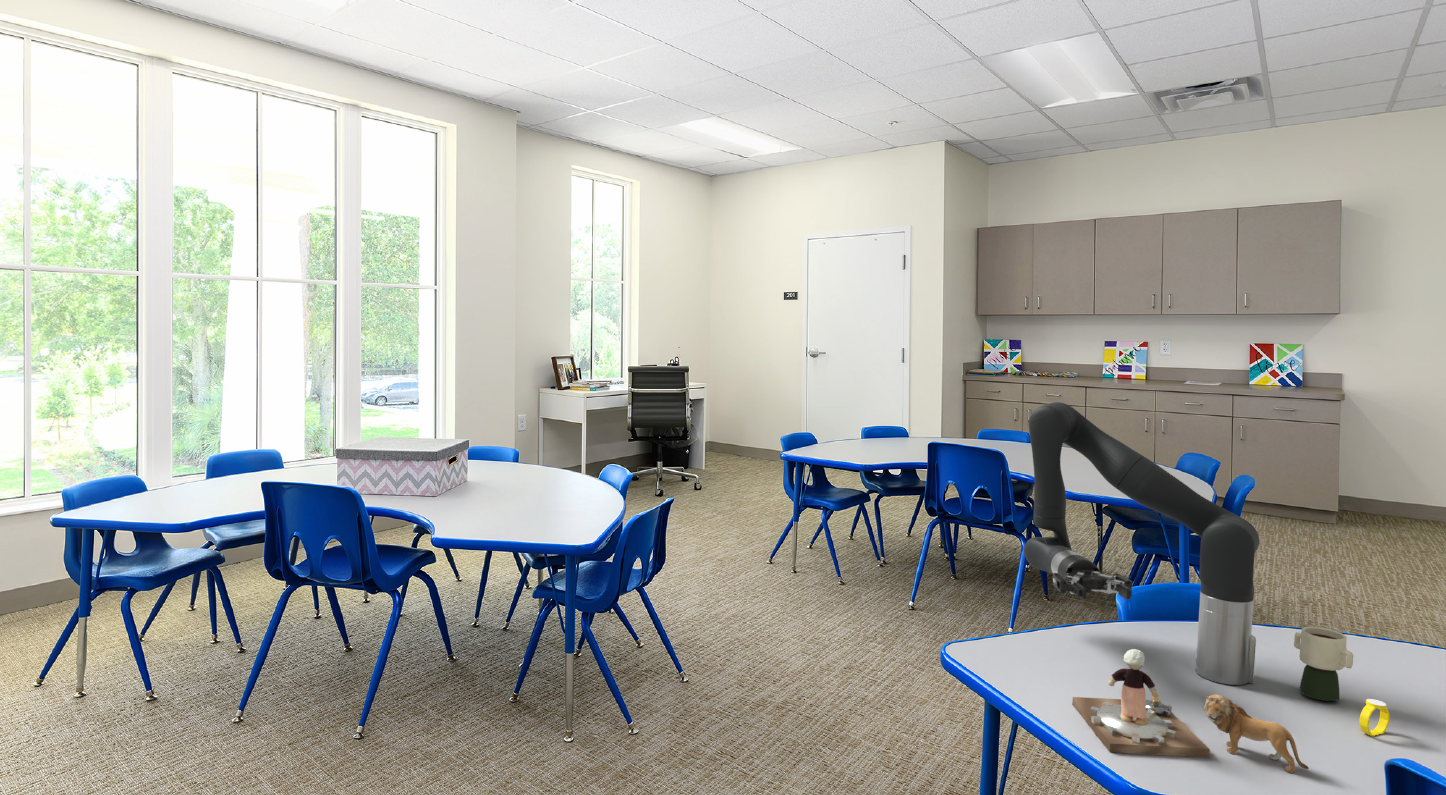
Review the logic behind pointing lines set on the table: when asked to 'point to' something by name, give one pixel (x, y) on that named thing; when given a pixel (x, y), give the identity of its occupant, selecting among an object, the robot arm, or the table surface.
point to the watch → (1367, 714)
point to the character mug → (1322, 661)
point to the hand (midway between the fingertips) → (1106, 594)
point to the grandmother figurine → (1134, 687)
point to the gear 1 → (1132, 724)
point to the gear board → (1180, 746)
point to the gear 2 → (1158, 707)
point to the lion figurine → (1250, 729)
